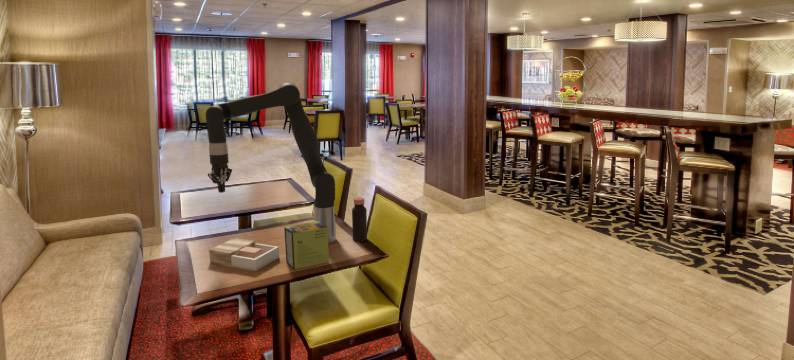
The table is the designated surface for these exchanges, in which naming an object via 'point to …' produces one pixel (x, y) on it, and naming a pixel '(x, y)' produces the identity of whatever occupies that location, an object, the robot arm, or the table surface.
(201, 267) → the table surface
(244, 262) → the white inner box tray
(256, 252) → the block
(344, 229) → the table surface
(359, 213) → the bottle
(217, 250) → the beige box sleeve
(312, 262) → the protein box
